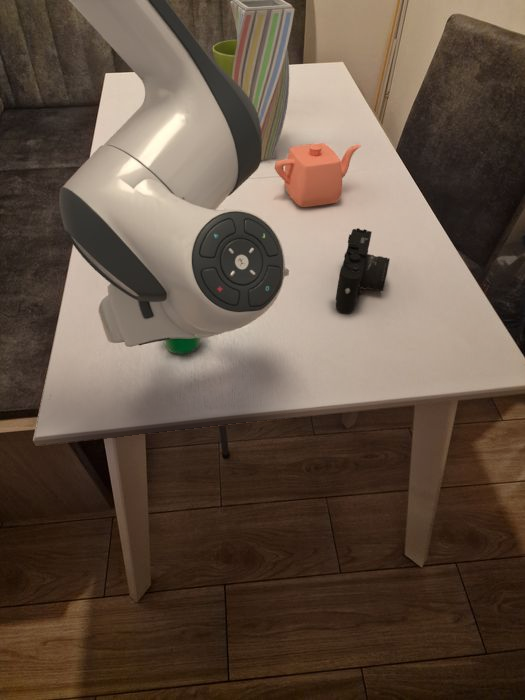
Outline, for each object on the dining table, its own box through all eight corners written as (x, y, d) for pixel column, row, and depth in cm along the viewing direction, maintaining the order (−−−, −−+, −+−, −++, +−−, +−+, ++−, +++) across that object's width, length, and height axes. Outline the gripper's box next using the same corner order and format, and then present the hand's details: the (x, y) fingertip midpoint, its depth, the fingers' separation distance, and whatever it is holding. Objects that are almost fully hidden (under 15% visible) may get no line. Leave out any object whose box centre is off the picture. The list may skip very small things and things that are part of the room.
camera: (376, 323, 74) (386, 281, 68) (330, 314, 76) (336, 273, 70) (385, 269, 84) (395, 228, 78) (344, 262, 85) (351, 222, 79)
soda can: (172, 361, 68) (160, 295, 60) (160, 338, 71) (147, 273, 63) (205, 349, 70) (198, 283, 61) (192, 327, 73) (184, 262, 64)
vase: (298, 163, 112) (308, 7, 90) (242, 172, 108) (239, 12, 87) (276, 140, 120) (281, -8, 99) (224, 147, 117) (217, -4, 96)
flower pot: (205, 117, 130) (200, 49, 119) (236, 100, 139) (234, 35, 128) (252, 129, 125) (251, 59, 114) (281, 111, 134) (283, 44, 122)
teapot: (265, 187, 104) (266, 138, 96) (343, 177, 107) (350, 129, 100) (282, 214, 96) (284, 163, 88) (365, 202, 100) (374, 152, 92)
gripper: (286, 239, 51) (251, 264, 64) (90, 288, 45) (96, 304, 59) (302, 296, 52) (264, 310, 65) (111, 352, 46) (111, 354, 59)
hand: (183, 308), depth 62 cm, fingers open, 8 cm apart
